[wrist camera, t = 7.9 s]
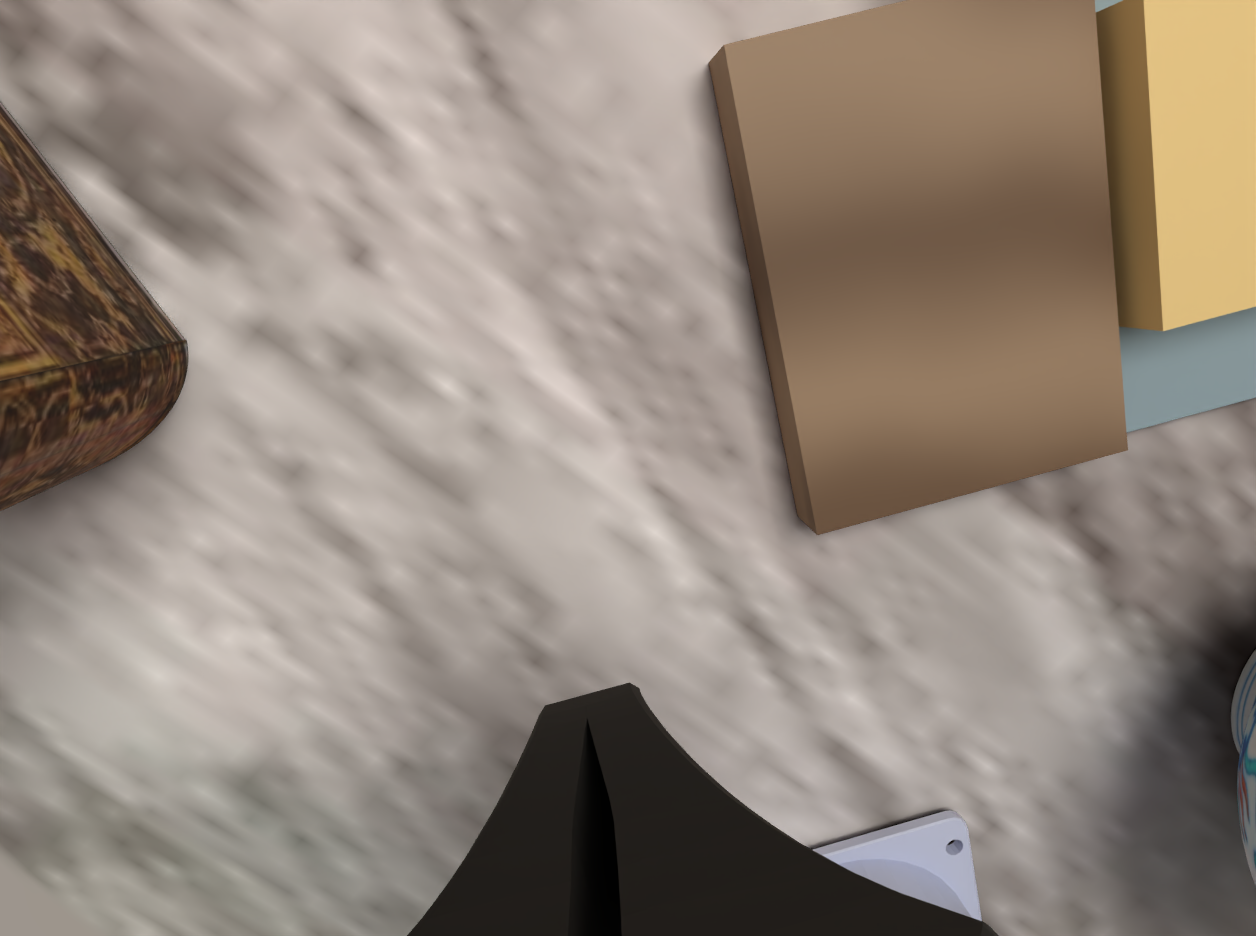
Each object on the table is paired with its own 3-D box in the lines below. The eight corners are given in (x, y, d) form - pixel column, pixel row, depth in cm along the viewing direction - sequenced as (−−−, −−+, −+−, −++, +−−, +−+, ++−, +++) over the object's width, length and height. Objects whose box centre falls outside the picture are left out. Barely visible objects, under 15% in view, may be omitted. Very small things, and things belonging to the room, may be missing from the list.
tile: (1325, 265, 20) (1408, 265, 18) (1102, 324, 20) (1163, 331, 18) (1324, -41, 18) (1416, -77, 16) (1078, 20, 18) (1143, -9, 16)
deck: (1087, 437, 21) (1127, 450, 20) (797, 515, 21) (817, 535, 19) (1047, -21, 18) (1091, -46, 17) (708, 62, 18) (723, 44, 16)
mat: (1384, 356, 21) (1400, 357, 21) (1090, 436, 21) (1100, 439, 21) (1392, -105, 18) (1410, -113, 18) (1051, -21, 18) (1062, -28, 18)
